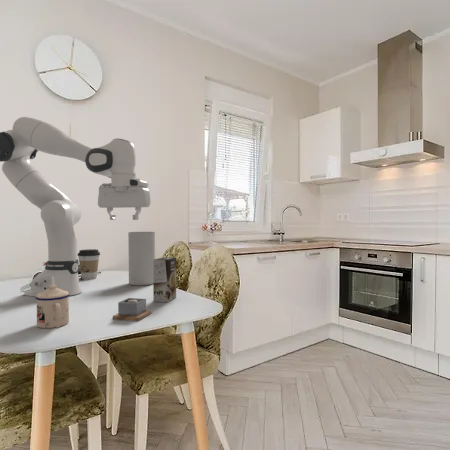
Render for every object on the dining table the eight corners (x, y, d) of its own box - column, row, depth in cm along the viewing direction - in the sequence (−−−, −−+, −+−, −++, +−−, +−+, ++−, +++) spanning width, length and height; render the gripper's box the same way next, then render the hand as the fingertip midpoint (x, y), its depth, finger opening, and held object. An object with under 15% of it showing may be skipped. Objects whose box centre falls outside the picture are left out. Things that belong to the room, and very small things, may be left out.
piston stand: (112, 319, 108) (112, 303, 108) (127, 311, 117) (127, 296, 117) (139, 320, 106) (138, 304, 106) (151, 313, 115) (151, 298, 115)
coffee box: (168, 302, 130) (168, 259, 129) (152, 301, 131) (152, 259, 131) (177, 297, 139) (176, 257, 138) (161, 296, 140) (161, 256, 140)
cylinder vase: (133, 281, 174) (132, 231, 174) (157, 281, 174) (157, 231, 173) (125, 286, 161) (124, 232, 161) (151, 286, 161) (151, 232, 161)
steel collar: (118, 315, 109) (118, 302, 109) (128, 309, 115) (128, 297, 115) (136, 316, 108) (136, 303, 108) (146, 310, 114) (146, 298, 114)
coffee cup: (73, 280, 177) (72, 251, 177) (85, 276, 189) (85, 249, 188) (93, 280, 176) (93, 251, 175) (104, 276, 187) (104, 249, 187)
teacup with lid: (33, 323, 104) (33, 284, 104) (65, 318, 110) (65, 281, 109) (40, 333, 95) (40, 291, 94) (75, 327, 100) (75, 287, 100)
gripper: (94, 182, 128) (94, 219, 129) (144, 181, 124) (144, 219, 124) (103, 184, 135) (104, 219, 135) (152, 182, 130) (152, 219, 130)
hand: (124, 219), depth 129 cm, fingers open, 8 cm apart
